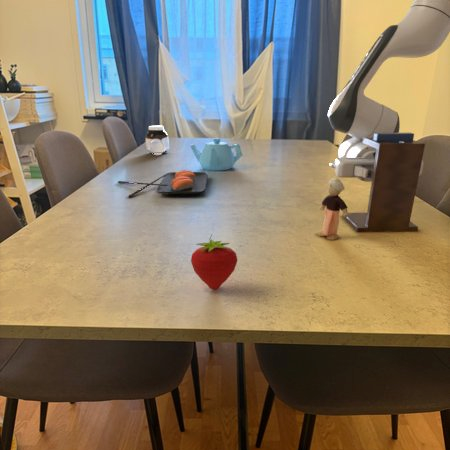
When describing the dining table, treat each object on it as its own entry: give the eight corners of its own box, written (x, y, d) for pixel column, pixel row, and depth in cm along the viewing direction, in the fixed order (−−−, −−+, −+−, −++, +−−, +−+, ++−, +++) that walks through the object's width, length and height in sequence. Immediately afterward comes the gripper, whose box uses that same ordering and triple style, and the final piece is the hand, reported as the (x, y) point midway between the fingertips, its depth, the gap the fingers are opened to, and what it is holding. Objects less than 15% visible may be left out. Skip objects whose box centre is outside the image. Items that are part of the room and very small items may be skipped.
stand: (396, 215, 109) (411, 136, 100) (417, 231, 99) (435, 143, 90) (342, 216, 109) (351, 137, 100) (357, 232, 98) (369, 144, 89)
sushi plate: (205, 198, 126) (204, 185, 124) (102, 199, 126) (100, 185, 124) (208, 177, 152) (207, 166, 150) (122, 178, 152) (121, 166, 150)
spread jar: (162, 150, 206) (160, 124, 201) (176, 153, 199) (174, 126, 193) (140, 153, 199) (138, 126, 194) (153, 156, 192) (151, 128, 186)
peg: (394, 209, 104) (407, 131, 95) (401, 215, 99) (416, 134, 91) (361, 210, 103) (372, 132, 95) (367, 215, 99) (379, 134, 91)
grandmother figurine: (310, 235, 96) (315, 177, 91) (320, 231, 99) (326, 174, 93) (340, 243, 92) (347, 183, 86) (350, 239, 94) (358, 180, 88)
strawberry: (238, 297, 70) (238, 238, 65) (191, 298, 69) (188, 239, 65) (236, 281, 75) (236, 226, 70) (192, 282, 75) (190, 227, 70)
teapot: (211, 173, 158) (211, 142, 153) (189, 167, 169) (188, 138, 164) (244, 168, 166) (244, 138, 161) (221, 162, 177) (221, 135, 172)
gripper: (329, 150, 107) (345, 159, 95) (410, 149, 108) (436, 158, 95) (326, 176, 110) (341, 188, 98) (405, 174, 110) (430, 187, 98)
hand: (389, 173), depth 96 cm, fingers open, 8 cm apart
